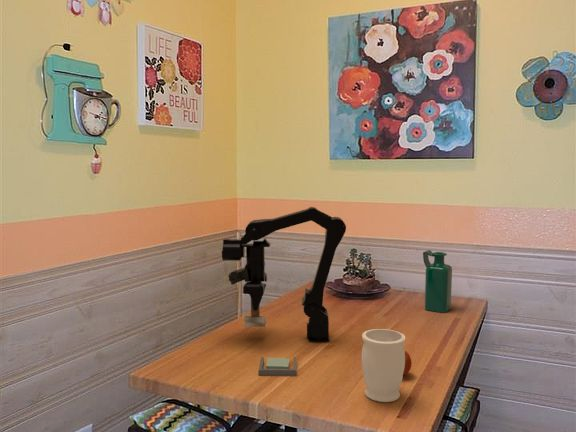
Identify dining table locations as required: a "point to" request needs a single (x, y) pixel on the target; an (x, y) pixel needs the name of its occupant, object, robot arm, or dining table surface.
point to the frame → (277, 370)
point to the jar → (383, 363)
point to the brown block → (255, 318)
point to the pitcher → (437, 283)
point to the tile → (277, 363)
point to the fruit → (407, 363)
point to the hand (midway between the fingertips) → (256, 308)
